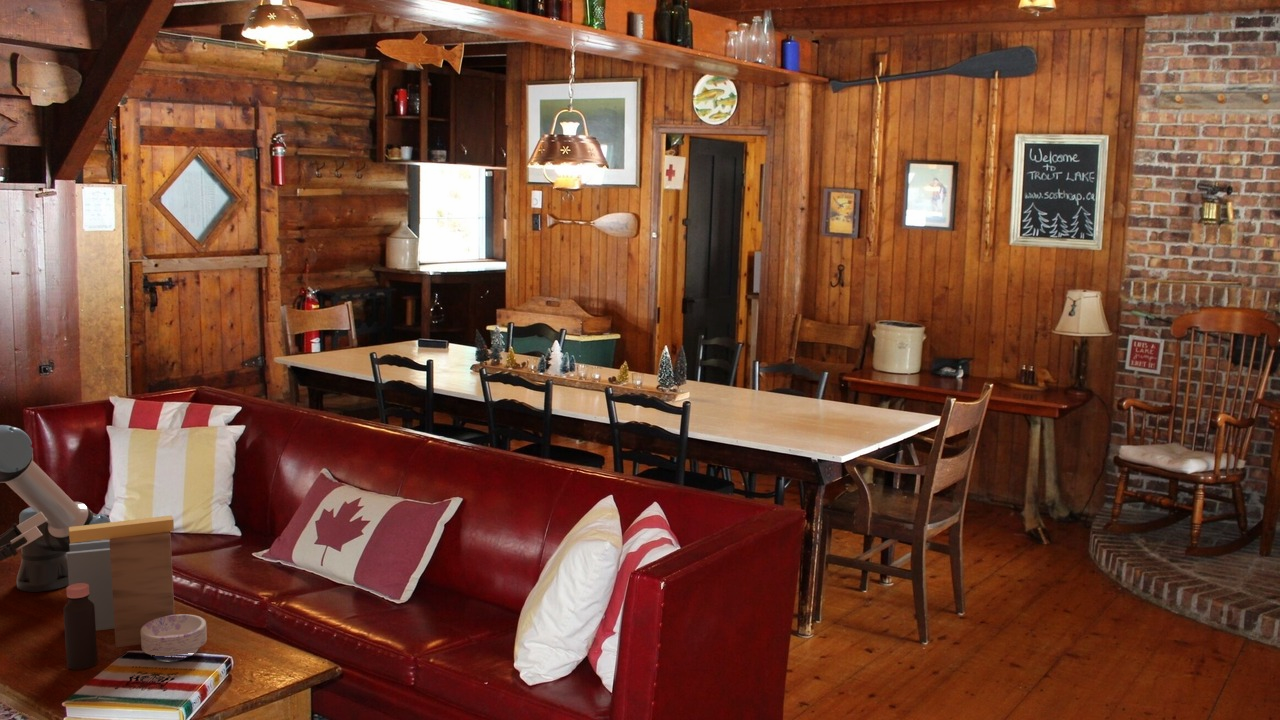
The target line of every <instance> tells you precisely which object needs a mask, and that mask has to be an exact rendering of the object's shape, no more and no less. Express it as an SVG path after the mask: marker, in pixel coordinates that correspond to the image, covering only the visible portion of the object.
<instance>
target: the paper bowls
mask: <svg viewBox="0 0 1280 720" xmlns="http://www.w3.org/2000/svg"><path fill="white" fill-rule="evenodd" d="M207 631H208V629H207V621H206V620H205V618H203V617H201V616H199V615H195V614H186V613H185V614H184V613H183V614H182V613H181V614H175V615H169V616H164V617H160V618H157V619H154V620H152V621H149V622H148V623H146V624H145V625H144V626H143V627H142V628H141V631H140V632H141V644H140V645H141V650H142V651H143V652H144V654H146V655H150V656H152V655H155V656H169V655H170V656H171V655H178V654H188V653H195V654H196V653H197V652H198V650H199V649H200V648H201V647H202V646H204V645H205V644H206V643H207V639H208V637H207V636H208V634H207V633H208V632H207Z"/></svg>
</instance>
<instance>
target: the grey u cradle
mask: <svg viewBox="0 0 1280 720" xmlns="http://www.w3.org/2000/svg"><path fill="white" fill-rule="evenodd" d="M69 548H70V552H66V553H67V564H68V579H69V585H72V584H76V583H86V584H88V585H89V596H88V599H89V600H90V601H92V602H93V603H94V607H95V624H96V632H98V631H104V630H109V629H110V630H111V629H114V630H115V626H114V609H113V592H112V575H111V558H110V541H109V540H103V541H92V542H81V543H70V544H69ZM69 585H68V586H69Z"/></svg>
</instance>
